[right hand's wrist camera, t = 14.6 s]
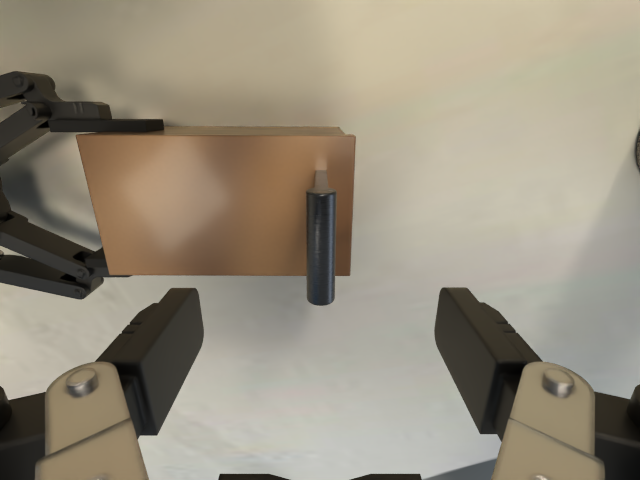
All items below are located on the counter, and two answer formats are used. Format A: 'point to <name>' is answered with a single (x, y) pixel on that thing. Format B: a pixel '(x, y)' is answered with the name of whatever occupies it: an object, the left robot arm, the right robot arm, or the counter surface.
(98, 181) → the lid
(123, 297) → the counter surface
